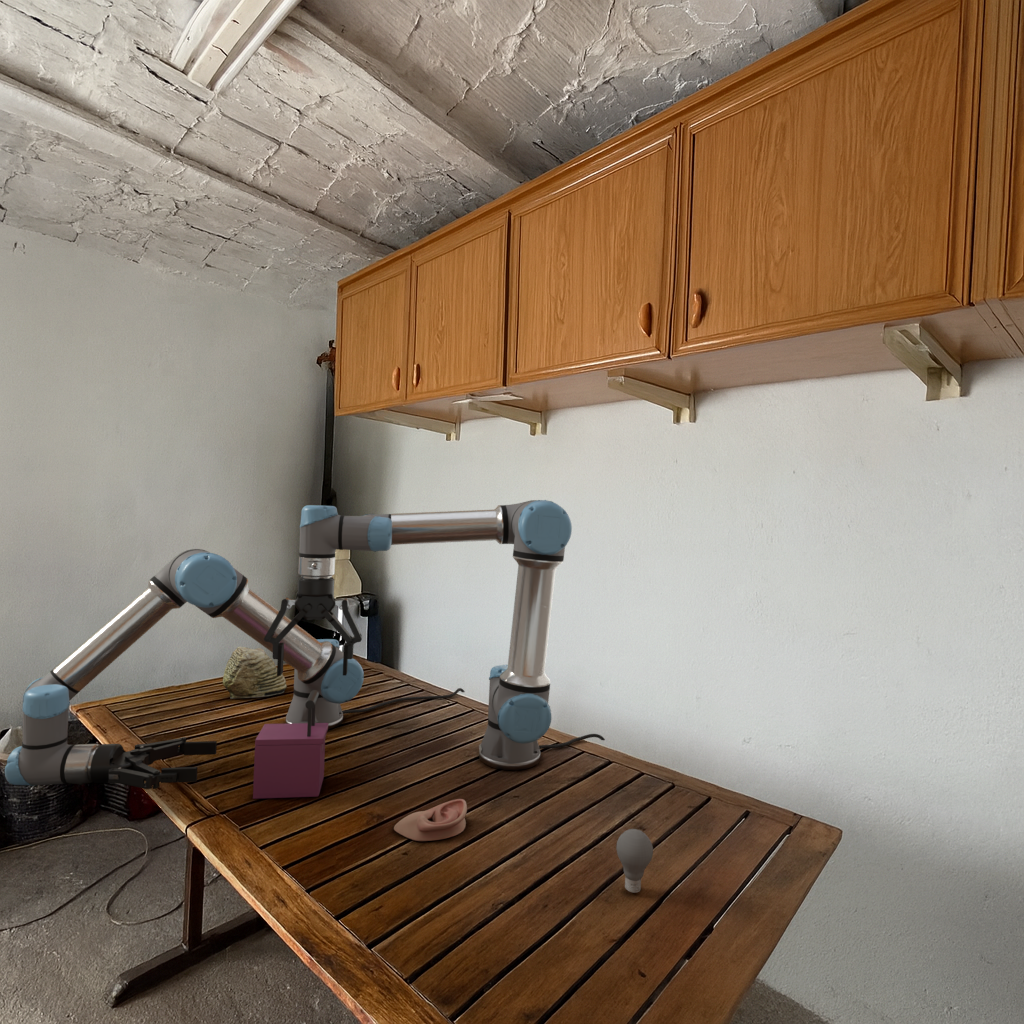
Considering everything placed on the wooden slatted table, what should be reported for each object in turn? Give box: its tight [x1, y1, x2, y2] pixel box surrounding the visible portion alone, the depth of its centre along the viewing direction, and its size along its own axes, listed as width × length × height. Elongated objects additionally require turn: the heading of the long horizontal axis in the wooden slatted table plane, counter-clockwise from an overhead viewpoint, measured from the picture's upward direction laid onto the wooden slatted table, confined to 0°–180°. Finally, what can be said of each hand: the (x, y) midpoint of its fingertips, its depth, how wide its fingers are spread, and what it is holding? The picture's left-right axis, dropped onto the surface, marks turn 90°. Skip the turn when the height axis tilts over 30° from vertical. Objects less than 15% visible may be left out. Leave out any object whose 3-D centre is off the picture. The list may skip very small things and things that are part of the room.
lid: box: [254, 690, 329, 746], centre depth 137 cm, size 14×9×9 cm
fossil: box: [222, 646, 288, 699], centre depth 198 cm, size 9×18×15 cm, turn 132°
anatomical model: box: [393, 798, 468, 842], centre depth 123 cm, size 13×4×12 cm
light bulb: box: [615, 828, 654, 894], centre depth 106 cm, size 6×6×10 cm
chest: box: [252, 739, 326, 800], centre depth 137 cm, size 13×9×11 cm
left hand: (207, 760), depth 134 cm, fingers open, 13 cm apart
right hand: (312, 674), depth 137 cm, fingers open, 13 cm apart
